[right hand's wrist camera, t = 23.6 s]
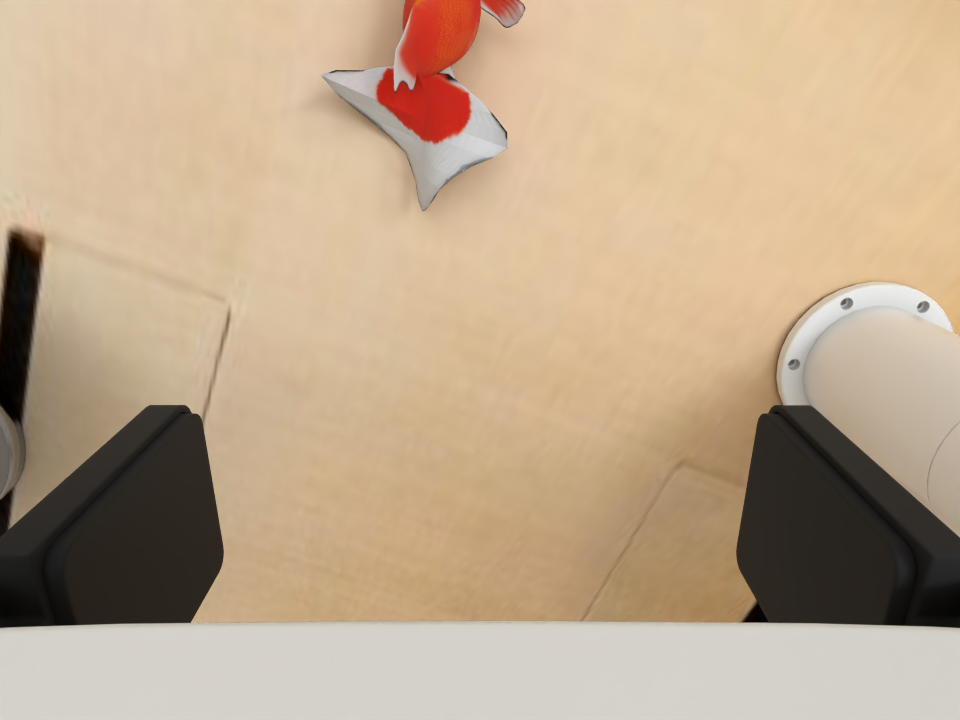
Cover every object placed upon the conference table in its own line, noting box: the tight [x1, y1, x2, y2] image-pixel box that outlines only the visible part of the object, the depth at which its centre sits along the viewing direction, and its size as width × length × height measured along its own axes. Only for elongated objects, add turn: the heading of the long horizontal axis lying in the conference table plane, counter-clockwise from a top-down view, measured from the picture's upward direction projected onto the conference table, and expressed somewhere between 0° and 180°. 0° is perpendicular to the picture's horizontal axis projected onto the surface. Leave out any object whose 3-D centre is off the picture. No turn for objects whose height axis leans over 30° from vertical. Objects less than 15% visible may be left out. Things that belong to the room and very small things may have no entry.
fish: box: [321, 0, 525, 211], centre depth 39 cm, size 11×16×10 cm
